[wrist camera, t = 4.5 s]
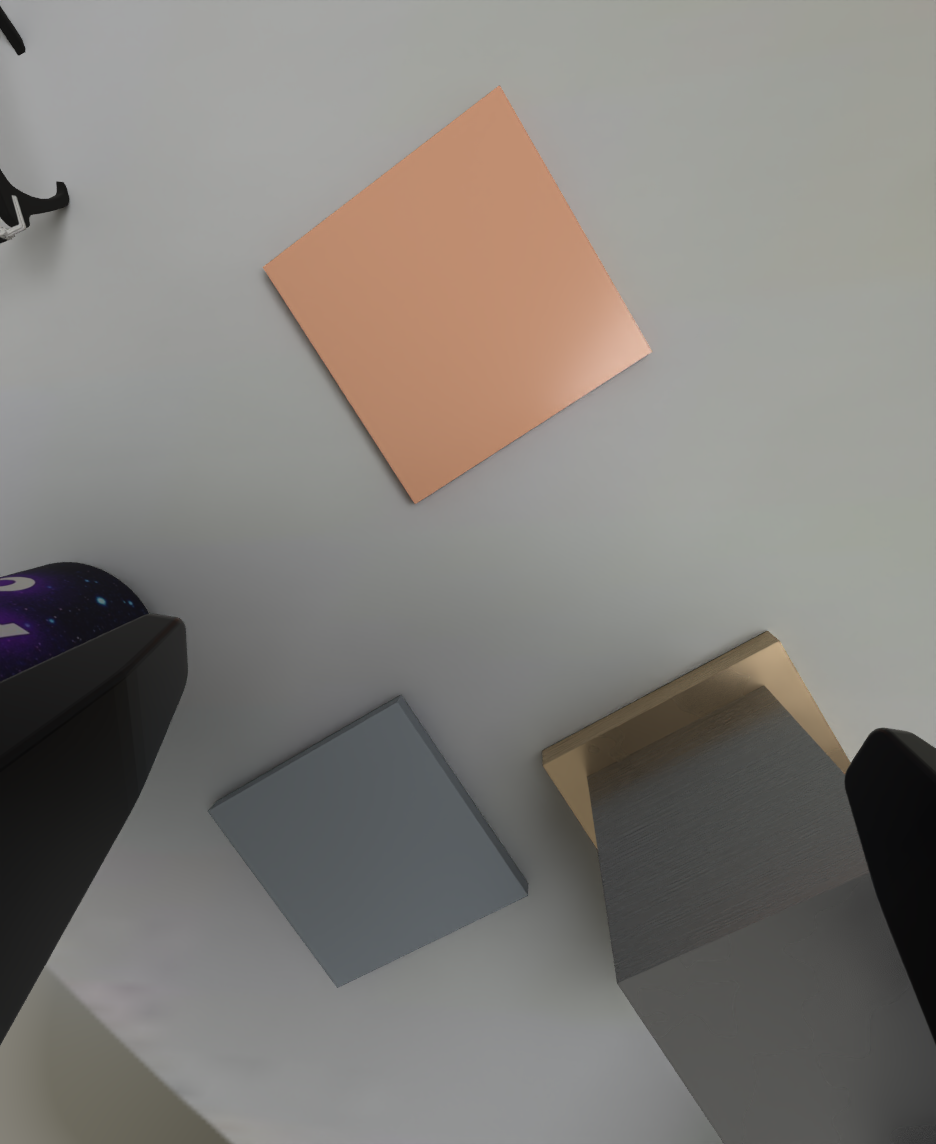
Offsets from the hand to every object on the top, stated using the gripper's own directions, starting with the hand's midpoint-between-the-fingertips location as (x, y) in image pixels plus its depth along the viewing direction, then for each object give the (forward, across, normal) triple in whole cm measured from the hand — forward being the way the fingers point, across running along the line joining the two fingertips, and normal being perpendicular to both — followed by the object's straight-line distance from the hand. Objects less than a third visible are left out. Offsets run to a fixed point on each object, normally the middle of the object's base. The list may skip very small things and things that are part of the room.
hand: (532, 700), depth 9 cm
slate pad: (+9, +2, +15) cm, 17 cm away
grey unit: (+8, -9, +11) cm, 16 cm away
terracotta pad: (+14, +2, -2) cm, 14 cm away
